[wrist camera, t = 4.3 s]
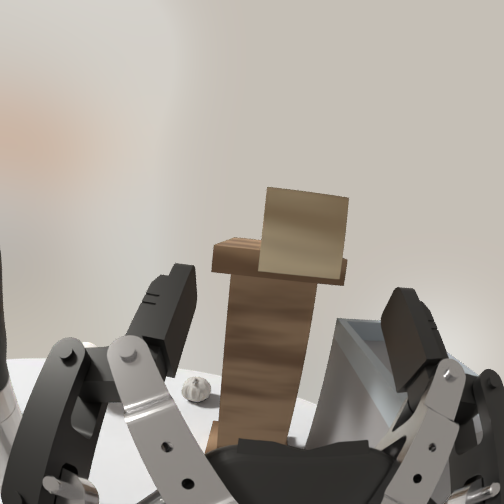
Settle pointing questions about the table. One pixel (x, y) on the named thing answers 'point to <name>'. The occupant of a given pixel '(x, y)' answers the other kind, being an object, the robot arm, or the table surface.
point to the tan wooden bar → (303, 233)
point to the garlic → (196, 389)
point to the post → (261, 345)
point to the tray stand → (364, 393)
